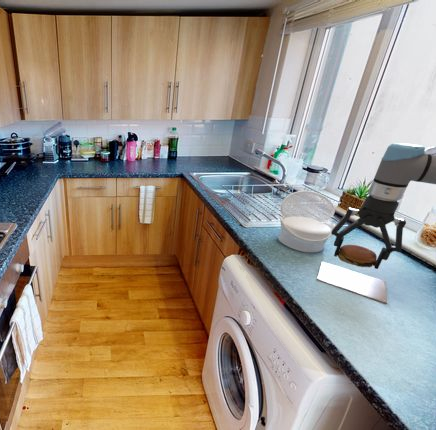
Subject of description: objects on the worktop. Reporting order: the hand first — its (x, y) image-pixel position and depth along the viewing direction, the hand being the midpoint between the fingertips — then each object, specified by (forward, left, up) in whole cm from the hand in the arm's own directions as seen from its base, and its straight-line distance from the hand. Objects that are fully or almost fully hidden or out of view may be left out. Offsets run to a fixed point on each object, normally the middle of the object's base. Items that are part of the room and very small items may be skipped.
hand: (355, 260), depth 94 cm
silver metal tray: (-1, 0, -8) cm, 8 cm away
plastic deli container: (+17, -19, -8) cm, 27 cm away
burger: (0, 0, 0) cm, 0 cm away
